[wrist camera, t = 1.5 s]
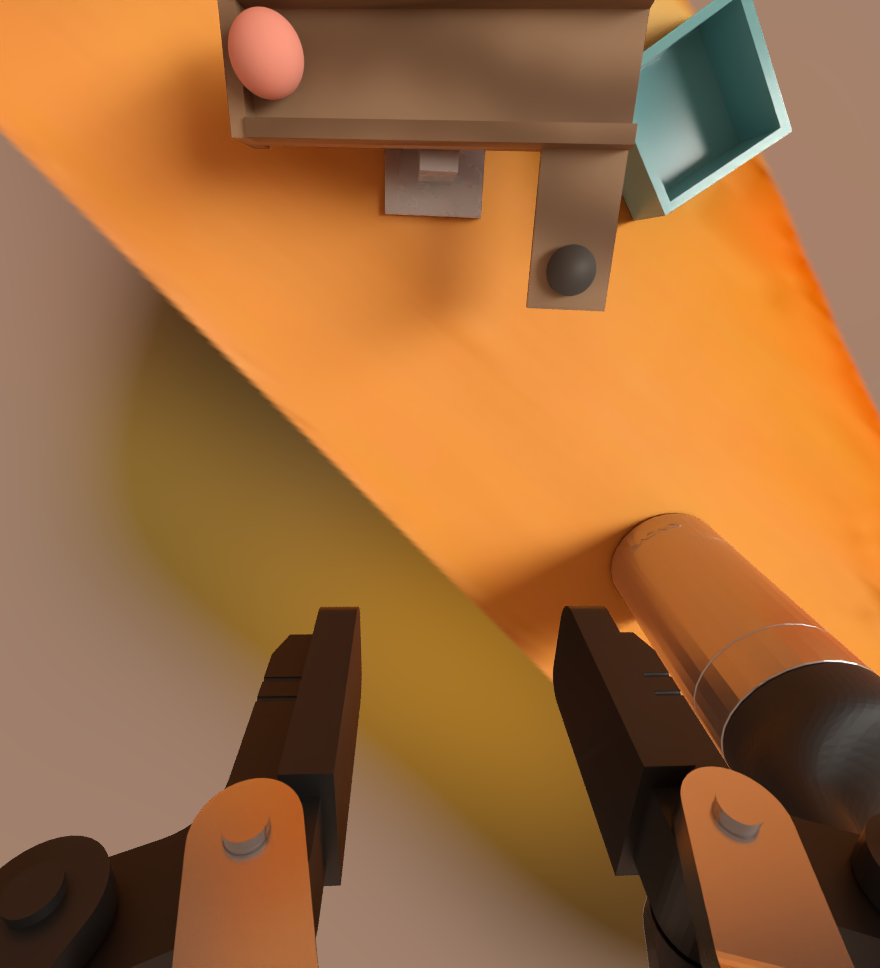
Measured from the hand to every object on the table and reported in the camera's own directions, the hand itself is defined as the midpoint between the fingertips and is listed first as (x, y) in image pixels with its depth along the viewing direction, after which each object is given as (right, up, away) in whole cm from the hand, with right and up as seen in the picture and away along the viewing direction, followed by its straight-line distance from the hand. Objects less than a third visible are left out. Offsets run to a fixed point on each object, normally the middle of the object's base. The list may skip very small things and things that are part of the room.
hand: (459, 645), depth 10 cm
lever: (-1, +20, +17) cm, 26 cm away
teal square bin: (+13, +25, +22) cm, 36 cm away
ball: (-8, +22, +13) cm, 27 cm away
